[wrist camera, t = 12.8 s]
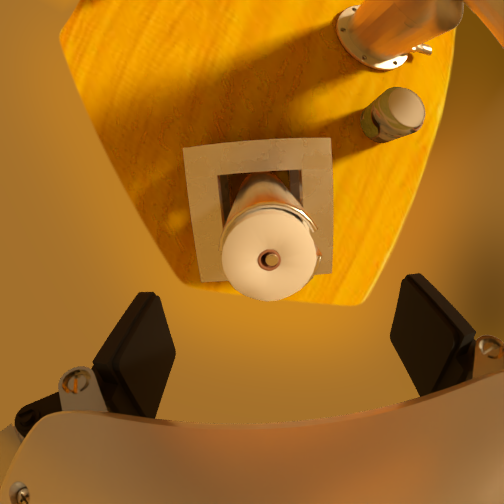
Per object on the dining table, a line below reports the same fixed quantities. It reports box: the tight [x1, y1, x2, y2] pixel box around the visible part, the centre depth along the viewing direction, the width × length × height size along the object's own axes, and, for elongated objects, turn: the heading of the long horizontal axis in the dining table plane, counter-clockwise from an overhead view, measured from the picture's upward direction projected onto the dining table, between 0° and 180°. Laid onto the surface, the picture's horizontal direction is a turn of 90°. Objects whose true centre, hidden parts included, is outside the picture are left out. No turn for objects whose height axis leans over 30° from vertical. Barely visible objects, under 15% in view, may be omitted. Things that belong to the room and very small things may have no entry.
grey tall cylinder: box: [218, 171, 322, 301], centre depth 27 cm, size 6×6×25 cm
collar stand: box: [183, 138, 333, 282], centre depth 34 cm, size 15×15×12 cm
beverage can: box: [360, 87, 425, 143], centre depth 29 cm, size 6×7×12 cm
